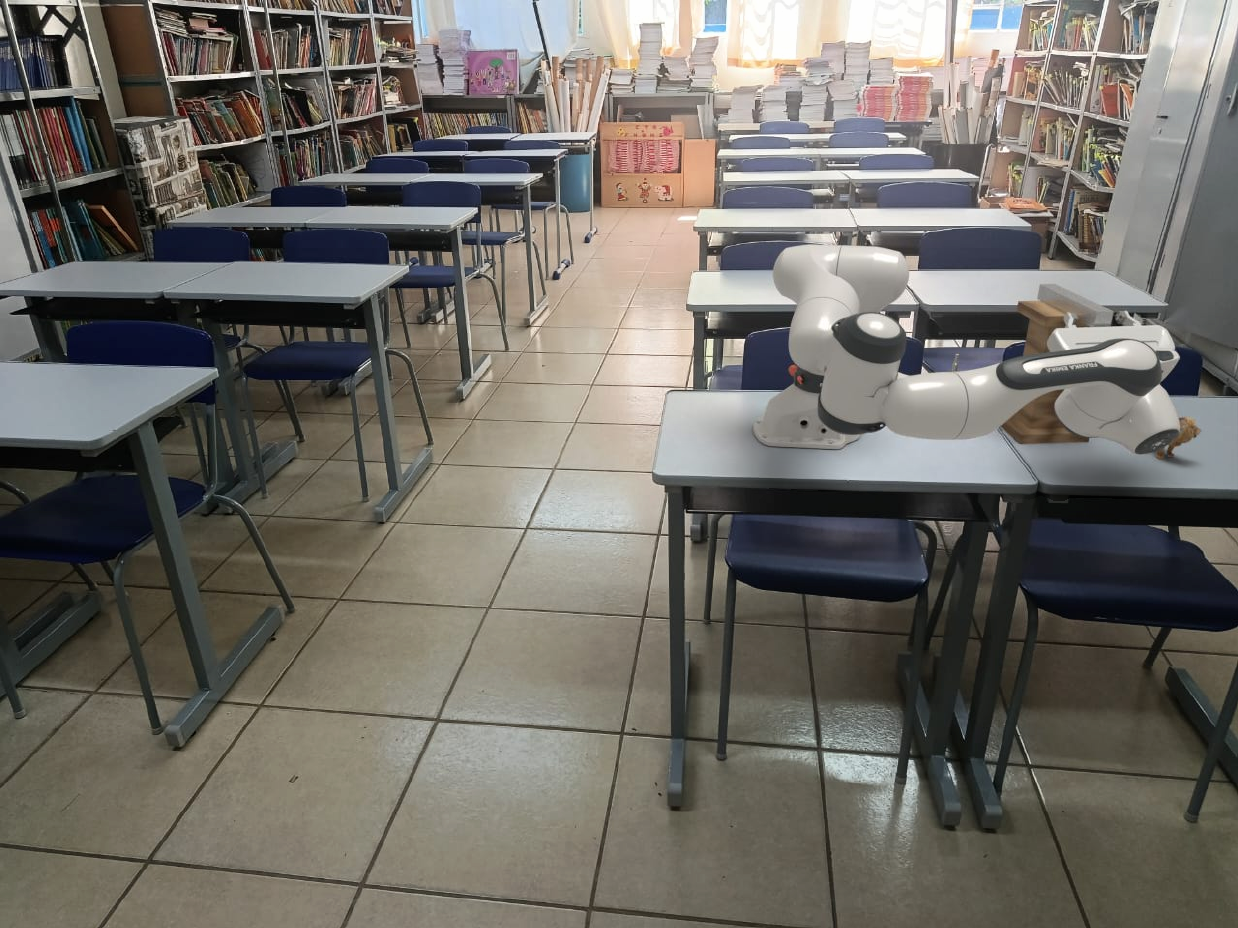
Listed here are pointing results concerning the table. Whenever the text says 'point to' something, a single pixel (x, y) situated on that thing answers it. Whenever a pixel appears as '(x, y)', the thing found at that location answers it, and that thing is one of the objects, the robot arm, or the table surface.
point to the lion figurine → (1181, 436)
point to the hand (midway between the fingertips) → (1094, 314)
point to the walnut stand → (1039, 414)
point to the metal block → (1075, 305)
